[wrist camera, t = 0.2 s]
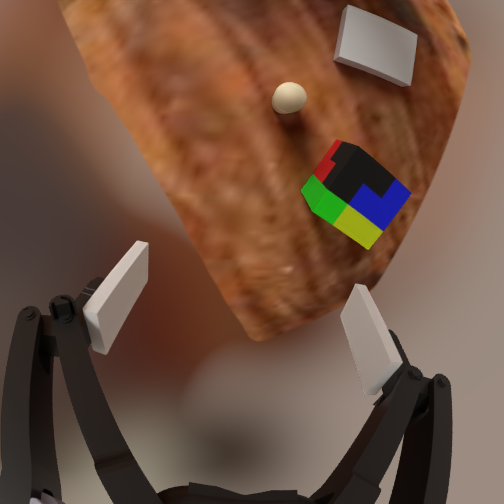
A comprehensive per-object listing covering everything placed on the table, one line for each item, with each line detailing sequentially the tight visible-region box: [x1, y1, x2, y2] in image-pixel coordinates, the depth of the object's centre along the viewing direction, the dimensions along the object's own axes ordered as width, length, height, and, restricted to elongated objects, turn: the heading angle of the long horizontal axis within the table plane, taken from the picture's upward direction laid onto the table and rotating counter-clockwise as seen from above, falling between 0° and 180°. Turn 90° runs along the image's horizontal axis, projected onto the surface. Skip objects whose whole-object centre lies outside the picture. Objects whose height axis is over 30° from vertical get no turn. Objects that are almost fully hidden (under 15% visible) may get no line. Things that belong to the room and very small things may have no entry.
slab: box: [333, 5, 417, 87], centre depth 28 cm, size 10×12×4 cm
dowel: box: [271, 82, 307, 114], centre depth 31 cm, size 4×4×10 cm
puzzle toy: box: [301, 139, 411, 250], centre depth 36 cm, size 10×10×10 cm
